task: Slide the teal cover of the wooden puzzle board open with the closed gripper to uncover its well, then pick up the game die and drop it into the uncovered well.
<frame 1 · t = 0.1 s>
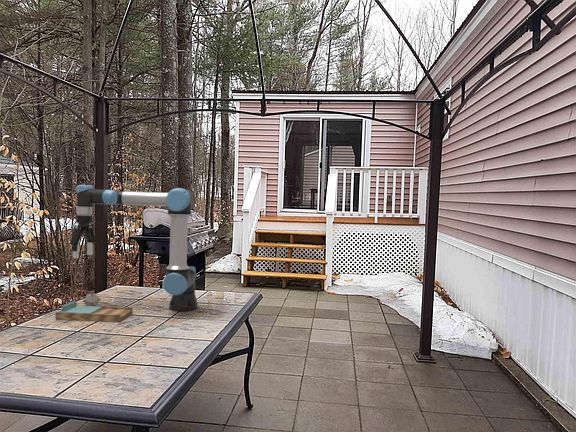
hand: (82, 256, 214), 28 cm above the table, tool pointing down, fingers open, 13 cm apart
cover: (81, 307, 203), point 4 cm above the table, slide at 0.0 cm
game die: (91, 308, 220), on the table
board: (95, 316, 203), on the table
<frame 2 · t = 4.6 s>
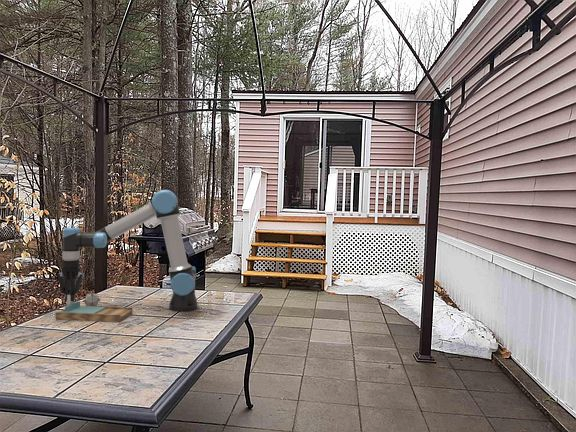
hand: (69, 307, 203), 4 cm above the table, tool pointing down, fingers closed
cover: (85, 307, 203), point 4 cm above the table, slide at 1.8 cm, touching gripper
everything else where it was.
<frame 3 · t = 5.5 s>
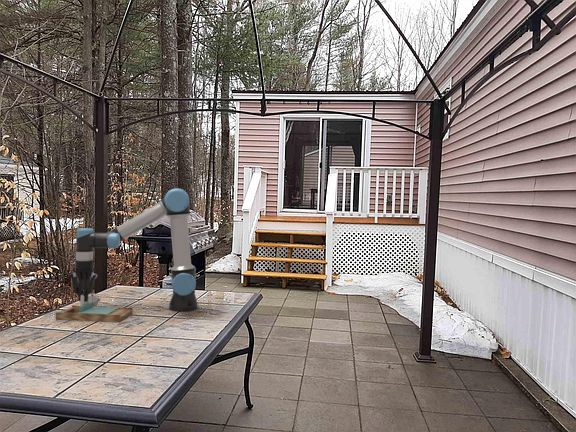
hand: (83, 308, 203), 4 cm above the table, tool pointing down, fingers closed
cover: (98, 308, 203), point 4 cm above the table, slide at 8.4 cm, touching gripper
everything else where it was.
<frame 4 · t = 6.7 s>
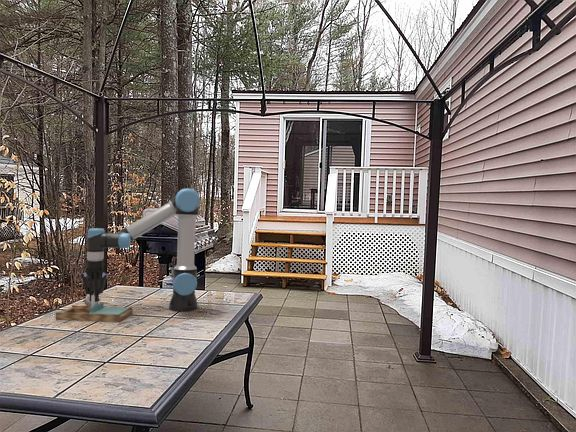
hand: (93, 308, 203), 4 cm above the table, tool pointing down, fingers closed
cover: (109, 308, 203), point 4 cm above the table, slide at 13.6 cm, touching gripper
everything else where it was.
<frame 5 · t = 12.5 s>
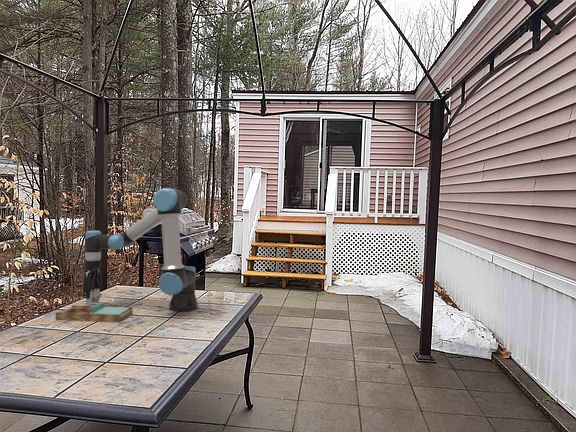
hand: (92, 302, 220), 3 cm above the table, tool pointing down, fingers closed on game die, 8 cm apart
cover: (110, 308, 203), point 4 cm above the table, slide at 13.9 cm
game die: (93, 303, 220), point 2 cm above the table, touching gripper
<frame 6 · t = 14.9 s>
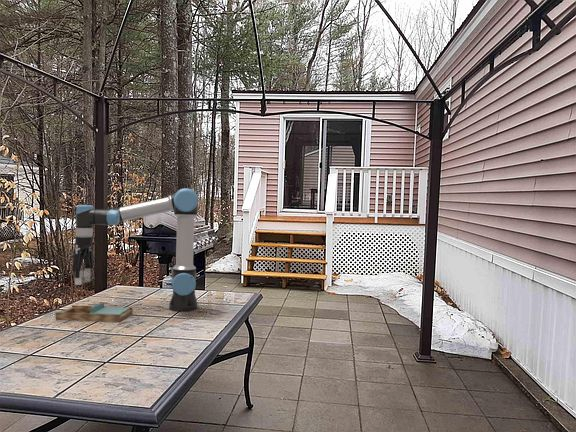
hand: (82, 282, 203), 16 cm above the table, tool pointing down, fingers closed on game die, 8 cm apart
game die: (82, 284, 203), point 16 cm above the table, touching gripper
everything else where it was.
when the fingers open (4 cm above the table, at t = 17.5 s): game die moves 2 cm, resting on board.
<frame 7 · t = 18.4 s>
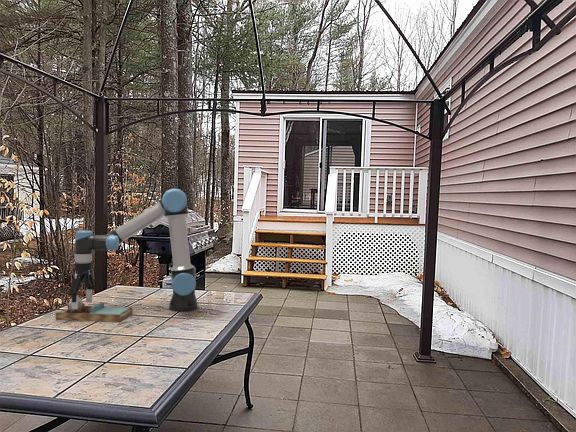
hand: (82, 305, 203), 5 cm above the table, tool pointing down, fingers open, 13 cm apart
game die: (81, 310, 204), point 3 cm above the table, touching board
everything else where it was.
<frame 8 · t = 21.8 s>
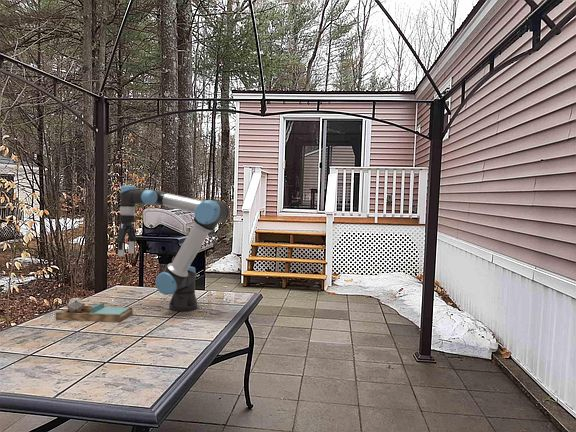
hand: (126, 254, 221), 29 cm above the table, tool pointing down, fingers open, 13 cm apart
nothing on the table moved.
at the end: cover slide at 13.9 cm; game die inside the target area on the board (1.2 cm from its centre), point 2.7 cm above the board's base; the gripper is holding nothing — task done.
